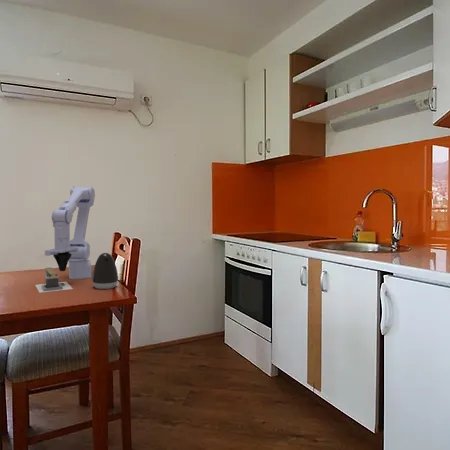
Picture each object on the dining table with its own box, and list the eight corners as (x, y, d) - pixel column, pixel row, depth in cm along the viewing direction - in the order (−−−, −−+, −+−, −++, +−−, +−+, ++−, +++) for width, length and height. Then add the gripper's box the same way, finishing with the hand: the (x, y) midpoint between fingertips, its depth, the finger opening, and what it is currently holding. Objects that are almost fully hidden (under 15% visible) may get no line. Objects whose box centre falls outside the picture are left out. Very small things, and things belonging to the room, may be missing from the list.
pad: (63, 283, 149) (63, 282, 149) (64, 285, 146) (64, 284, 146) (54, 284, 147) (54, 283, 147) (55, 286, 144) (55, 285, 144)
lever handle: (51, 271, 150) (51, 267, 150) (56, 277, 138) (56, 272, 138) (44, 272, 149) (44, 267, 149) (49, 278, 137) (49, 273, 137)
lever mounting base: (66, 283, 153) (66, 268, 153) (72, 291, 141) (72, 274, 141) (35, 287, 147) (35, 271, 146) (39, 295, 134) (39, 277, 134)
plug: (57, 286, 144) (57, 273, 144) (59, 289, 140) (59, 275, 140) (44, 288, 141) (44, 274, 141) (46, 290, 138) (46, 276, 137)
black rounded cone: (94, 293, 138) (93, 255, 137) (90, 287, 147) (90, 251, 147) (120, 290, 143) (120, 253, 142) (115, 285, 152) (115, 250, 151)
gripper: (70, 236, 154) (70, 267, 155) (39, 239, 141) (40, 272, 142) (81, 237, 150) (81, 268, 151) (51, 240, 138) (51, 274, 138)
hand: (62, 270), depth 146 cm, fingers closed
